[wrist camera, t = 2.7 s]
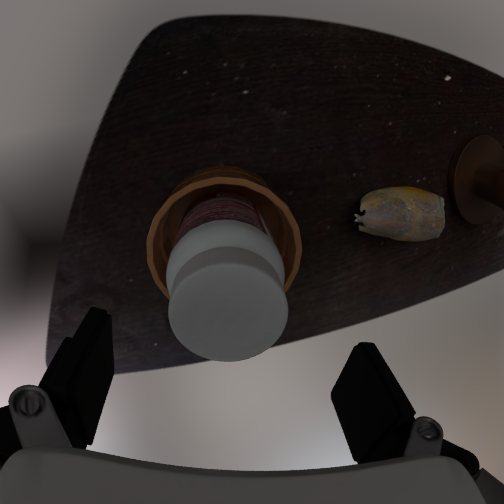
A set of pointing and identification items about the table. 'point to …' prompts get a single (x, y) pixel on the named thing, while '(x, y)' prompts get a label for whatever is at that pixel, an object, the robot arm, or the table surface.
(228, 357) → the pill bottle
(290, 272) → the bowl
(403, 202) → the cream hollow shell
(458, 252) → the table surface
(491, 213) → the stand
